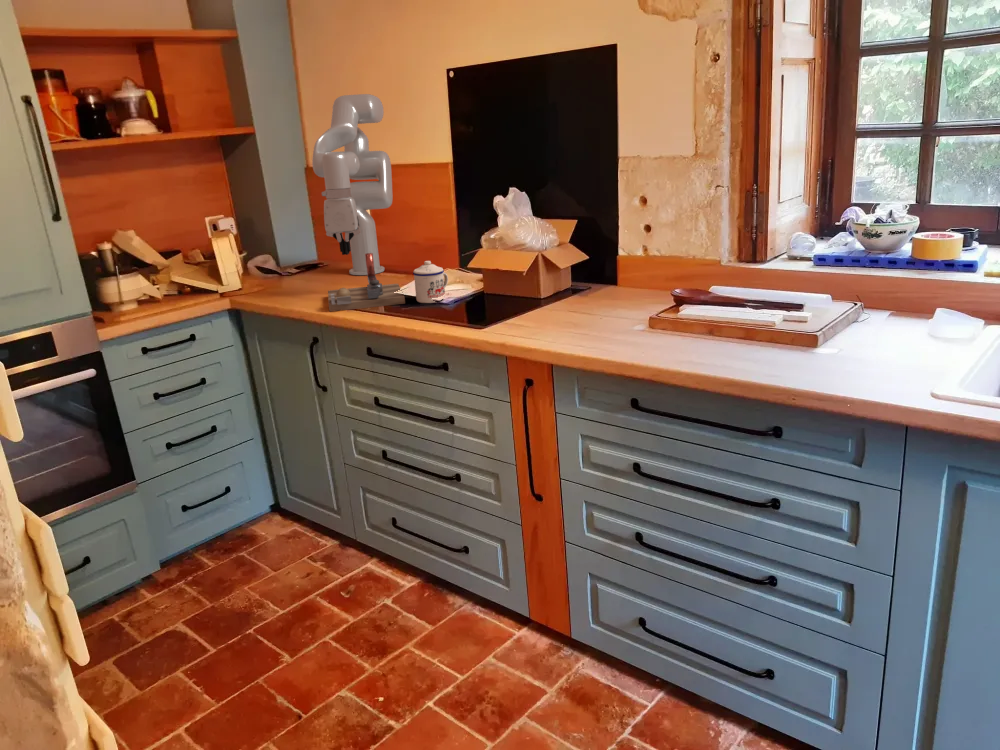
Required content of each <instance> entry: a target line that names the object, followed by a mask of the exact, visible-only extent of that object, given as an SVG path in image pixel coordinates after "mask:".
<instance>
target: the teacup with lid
mask: <svg viewBox="0 0 1000 750" xmlns="http://www.w3.org/2000/svg"><path fill="white" fill-rule="evenodd" d="M423 263H424V264H422V265H420V266H419V267H417V268H415V269H414V270H413V272H412V274H413V279H414V280H413V281H414V289H415V290H414V291H415V299H416V301H417V303H420V304H433V303H436V302H435V301H433V300H431V299H432V298H438V297H441V296H443V295H444V294H445V295H446V292H445V291H446V289H445V288H446V287H447V286H448V283H449V276H448V274H447V273H446V272H444V269H443V267H442V266H441V267H440V266H437V265H436V264H434V263H432V262H431V260H425V261H423Z"/></svg>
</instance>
